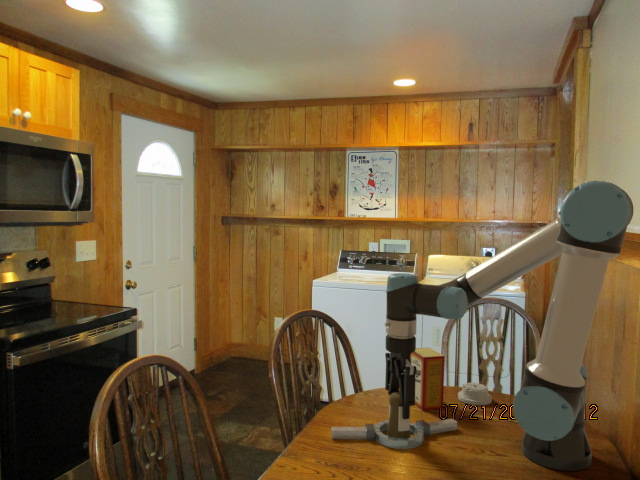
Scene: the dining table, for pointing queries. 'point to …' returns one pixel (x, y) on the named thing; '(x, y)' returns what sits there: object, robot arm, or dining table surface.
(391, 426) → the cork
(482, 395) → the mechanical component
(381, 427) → the grey flat ringed bar
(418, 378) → the baking soda box
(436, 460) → the dining table surface
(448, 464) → the dining table surface
